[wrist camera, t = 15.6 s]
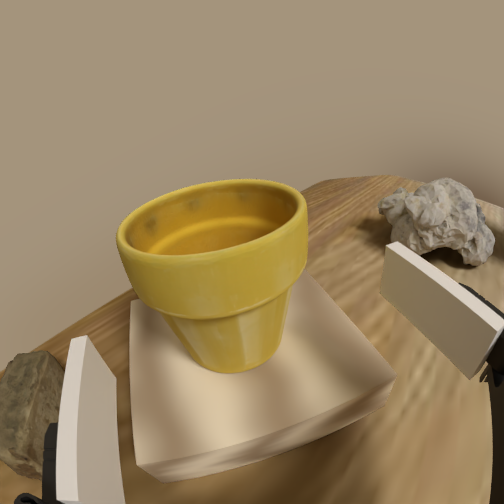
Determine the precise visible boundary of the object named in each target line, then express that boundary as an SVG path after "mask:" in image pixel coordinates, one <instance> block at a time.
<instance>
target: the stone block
mask: <svg viewBox="0 0 504 504" xmlns="http://www.w3.org/2000/svg"><path fill="white" fill-rule="evenodd" d="M64 375H65V372H64V370H63V369H62V367H61V365H60V364H59V363H58V361H57V360H56V359H55V357H54V356H52V355H51V354H50V353H49V352H48V351H42V350H41V351H38V352H36V351H33V352H31V353H22V354H17V355H16V357H14V360H12V361H10V362H9V363H8V365H7V367H6V370H5V373H4V375H3V377H2V379H1V382H0V460H1V461H3V462H4V463H5V464H7V465H8V466H9V467H10V468H11V469H13V470H14V471H15V472H16V473H17V474H19V475H22V476H26V477H28V478H34V479H39V480H42V467H43V461H44V459H43V451H44V436H45V433H46V431H47V428H48V426H49V424H50V423H56V422H59V412H60V403H61V395H62V388H63V382H64Z"/></svg>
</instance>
